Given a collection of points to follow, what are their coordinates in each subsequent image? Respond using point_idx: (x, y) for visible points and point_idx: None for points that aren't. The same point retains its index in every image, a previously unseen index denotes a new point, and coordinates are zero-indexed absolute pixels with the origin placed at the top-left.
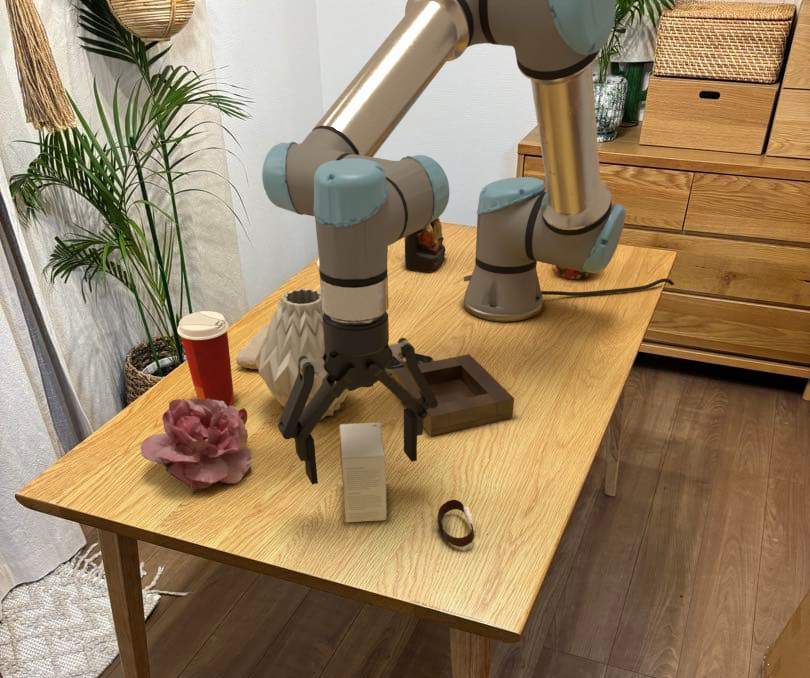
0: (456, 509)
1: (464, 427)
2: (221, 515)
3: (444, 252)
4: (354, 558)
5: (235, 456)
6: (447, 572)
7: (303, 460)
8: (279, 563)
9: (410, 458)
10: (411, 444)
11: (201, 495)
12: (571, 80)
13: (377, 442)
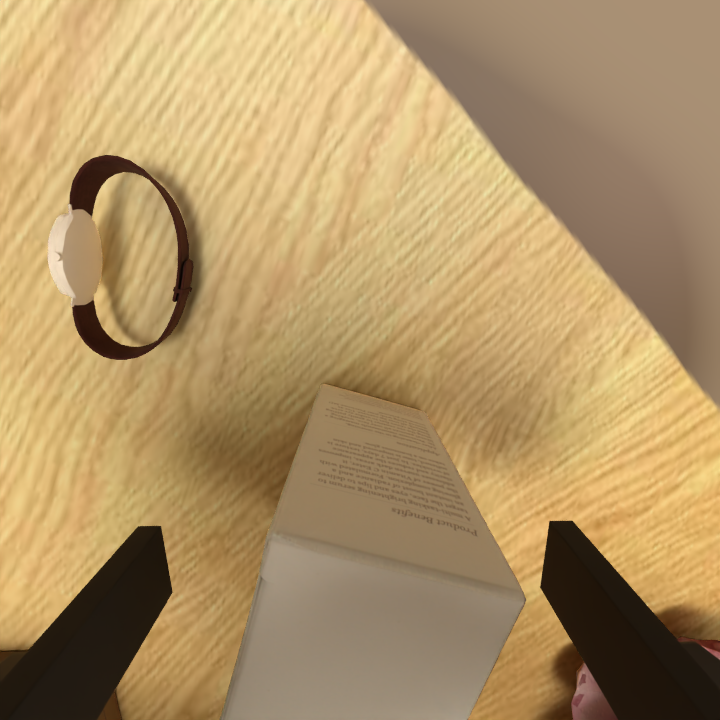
0: (115, 341)
1: (5, 655)
2: (683, 539)
3: None
4: (457, 265)
5: (603, 717)
6: (230, 94)
7: (686, 644)
8: (641, 321)
9: (156, 541)
10: (101, 602)
11: (691, 616)
12: None
13: (271, 662)
